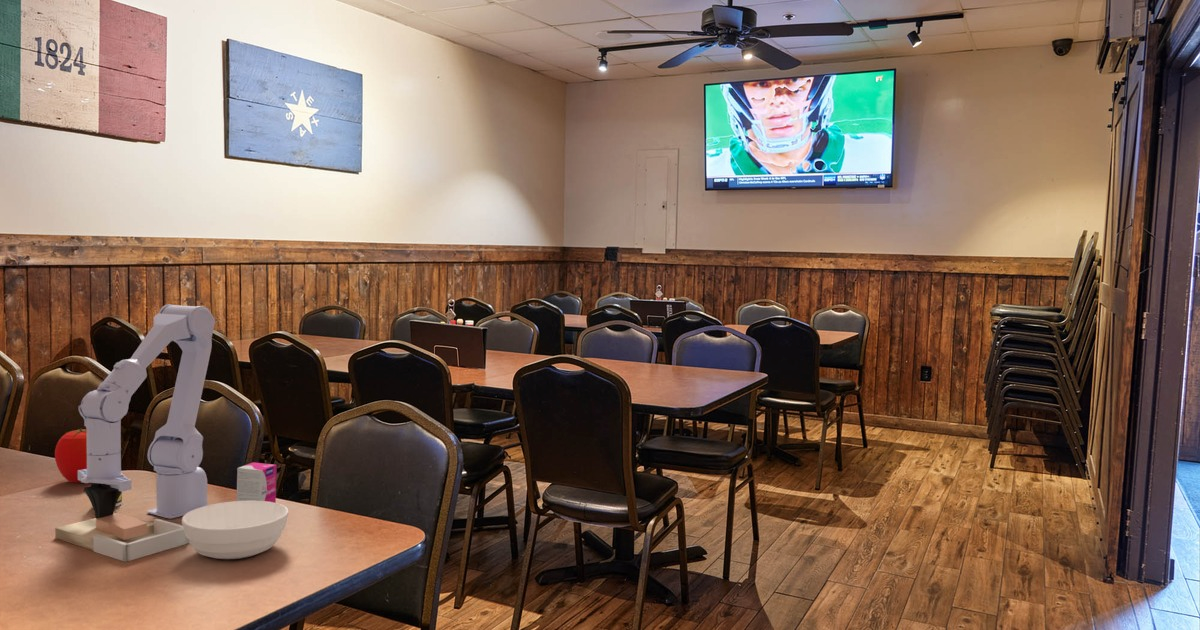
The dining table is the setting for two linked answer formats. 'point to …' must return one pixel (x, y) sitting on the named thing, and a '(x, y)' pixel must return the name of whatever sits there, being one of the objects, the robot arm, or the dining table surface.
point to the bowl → (235, 528)
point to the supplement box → (256, 482)
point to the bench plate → (89, 533)
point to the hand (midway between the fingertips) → (104, 521)
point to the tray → (142, 542)
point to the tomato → (72, 454)
